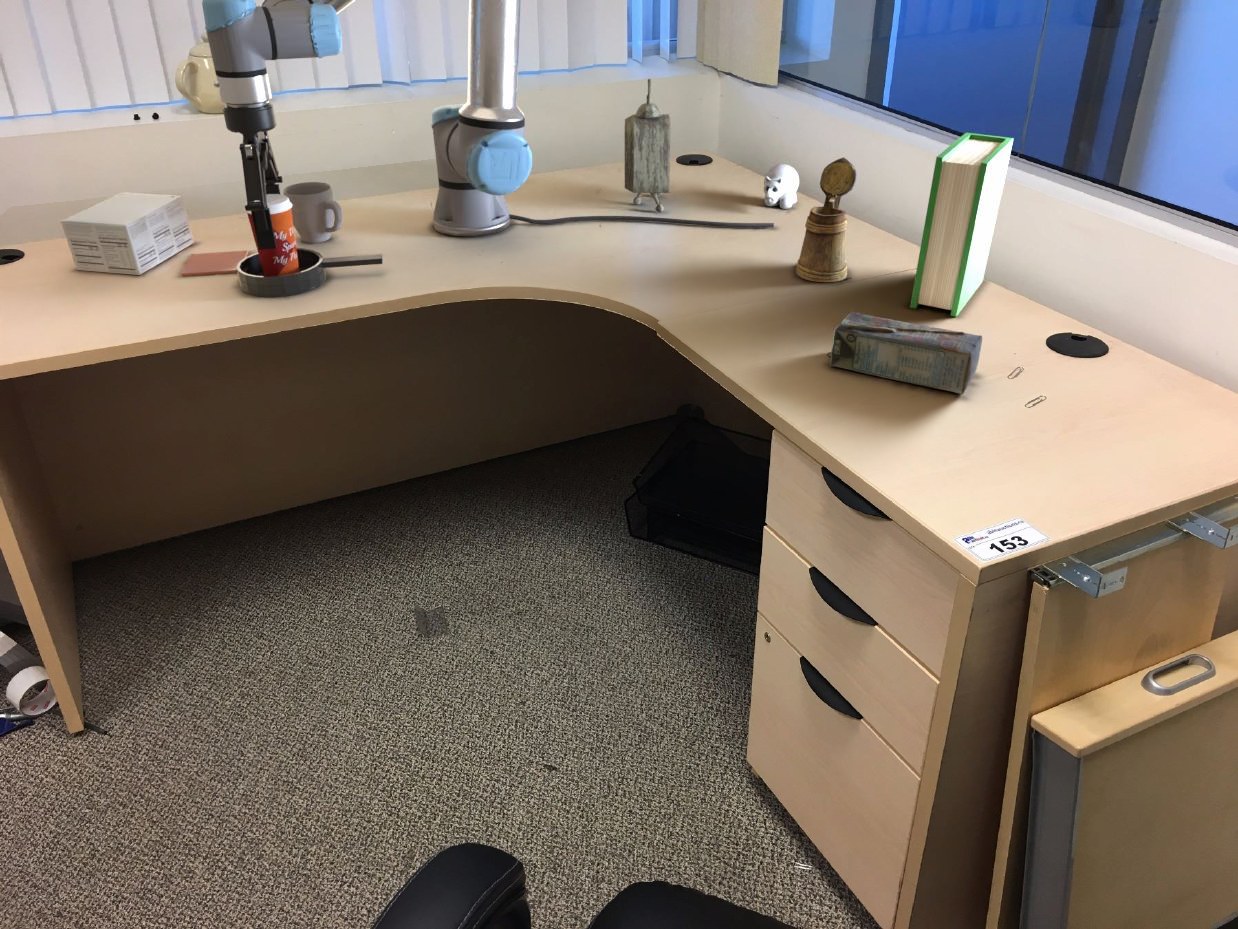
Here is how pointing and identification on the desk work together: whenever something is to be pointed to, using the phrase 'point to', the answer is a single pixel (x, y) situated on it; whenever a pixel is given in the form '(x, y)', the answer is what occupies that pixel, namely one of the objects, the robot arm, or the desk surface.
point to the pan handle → (352, 261)
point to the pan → (283, 285)
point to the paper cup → (278, 238)
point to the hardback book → (960, 220)
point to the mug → (314, 210)
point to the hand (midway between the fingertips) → (272, 235)
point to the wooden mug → (827, 228)
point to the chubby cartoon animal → (781, 186)
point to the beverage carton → (906, 352)
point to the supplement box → (128, 233)
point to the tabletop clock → (647, 151)
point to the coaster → (213, 263)
